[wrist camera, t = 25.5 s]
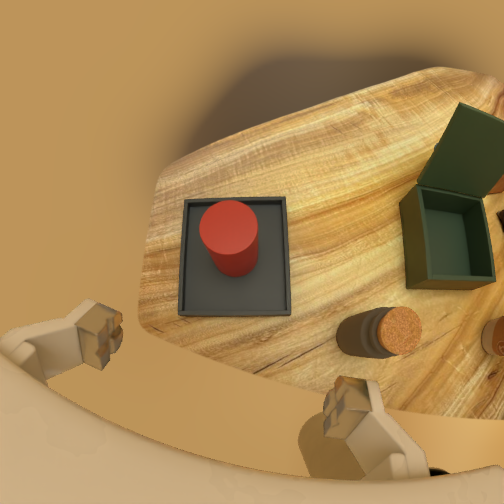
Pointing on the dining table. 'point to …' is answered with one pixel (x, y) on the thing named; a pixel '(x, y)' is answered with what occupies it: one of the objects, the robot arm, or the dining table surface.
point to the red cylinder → (231, 237)
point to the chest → (445, 240)
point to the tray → (244, 287)
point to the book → (501, 215)
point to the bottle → (380, 333)
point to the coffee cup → (494, 337)
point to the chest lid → (467, 154)
